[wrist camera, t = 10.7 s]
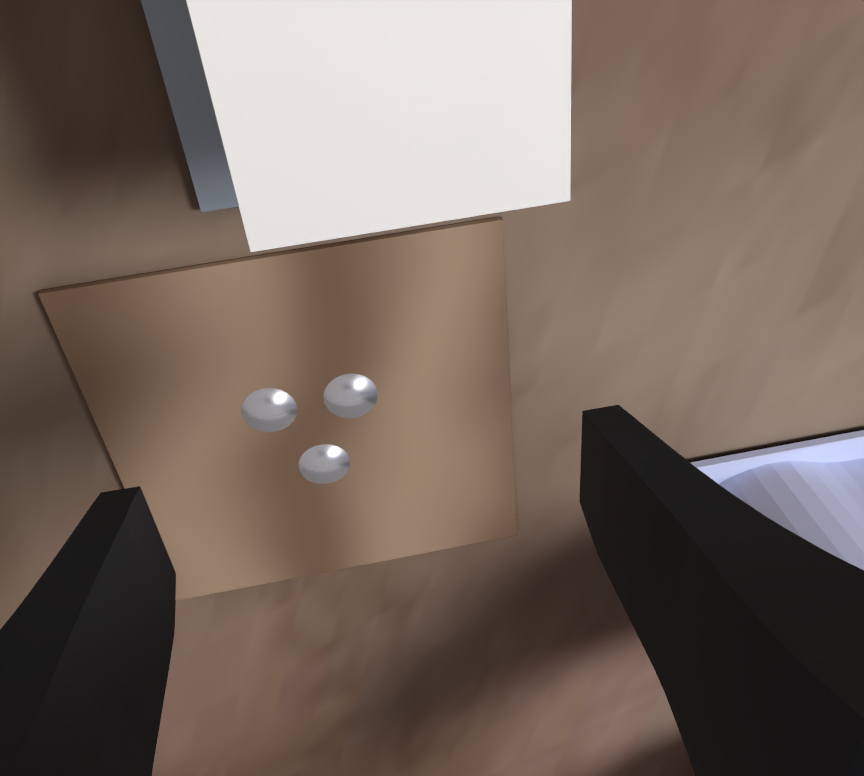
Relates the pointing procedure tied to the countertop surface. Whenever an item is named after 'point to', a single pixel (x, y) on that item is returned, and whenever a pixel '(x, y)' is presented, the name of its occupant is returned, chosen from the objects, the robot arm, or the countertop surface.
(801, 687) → the robot arm
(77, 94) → the countertop surface
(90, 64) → the countertop surface
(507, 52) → the matte white cube
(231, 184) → the mat
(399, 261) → the board
